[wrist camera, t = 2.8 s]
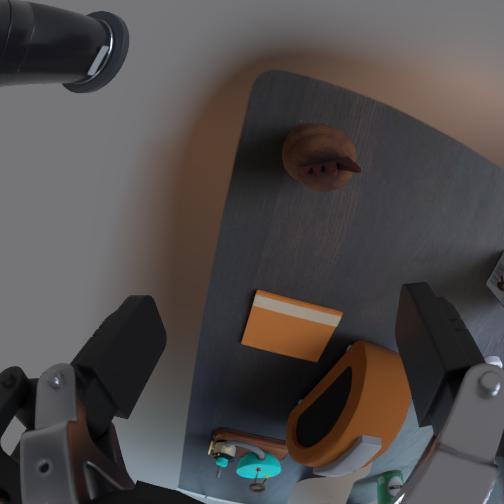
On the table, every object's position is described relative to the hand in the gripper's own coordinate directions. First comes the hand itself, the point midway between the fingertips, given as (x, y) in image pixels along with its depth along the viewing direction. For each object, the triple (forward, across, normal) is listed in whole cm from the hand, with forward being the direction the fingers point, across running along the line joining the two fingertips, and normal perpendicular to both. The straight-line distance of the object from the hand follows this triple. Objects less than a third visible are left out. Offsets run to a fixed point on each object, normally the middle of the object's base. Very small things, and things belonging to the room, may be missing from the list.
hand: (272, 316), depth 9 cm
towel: (+26, +2, +22) cm, 34 cm away
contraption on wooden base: (+26, +13, +57) cm, 64 cm away
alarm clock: (+26, -6, +35) cm, 44 cm away
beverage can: (+26, -25, +85) cm, 92 cm away
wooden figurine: (+26, -3, -2) cm, 26 cm away
